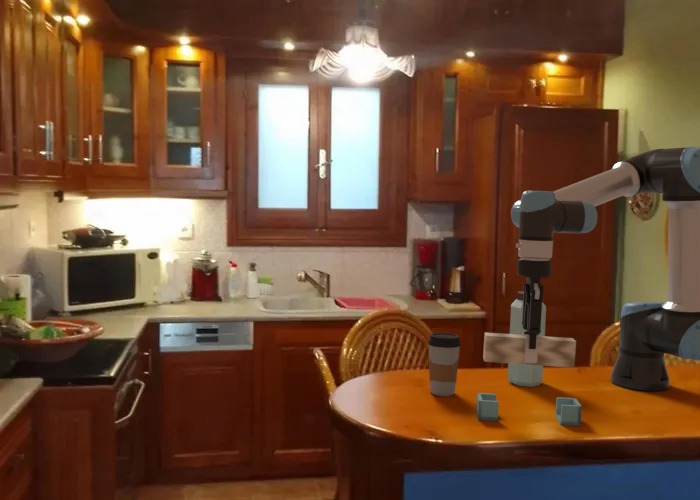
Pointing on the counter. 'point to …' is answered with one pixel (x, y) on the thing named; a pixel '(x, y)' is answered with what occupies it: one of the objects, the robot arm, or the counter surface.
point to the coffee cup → (443, 363)
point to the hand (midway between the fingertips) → (529, 360)
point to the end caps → (565, 409)
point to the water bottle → (522, 372)
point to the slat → (513, 350)
